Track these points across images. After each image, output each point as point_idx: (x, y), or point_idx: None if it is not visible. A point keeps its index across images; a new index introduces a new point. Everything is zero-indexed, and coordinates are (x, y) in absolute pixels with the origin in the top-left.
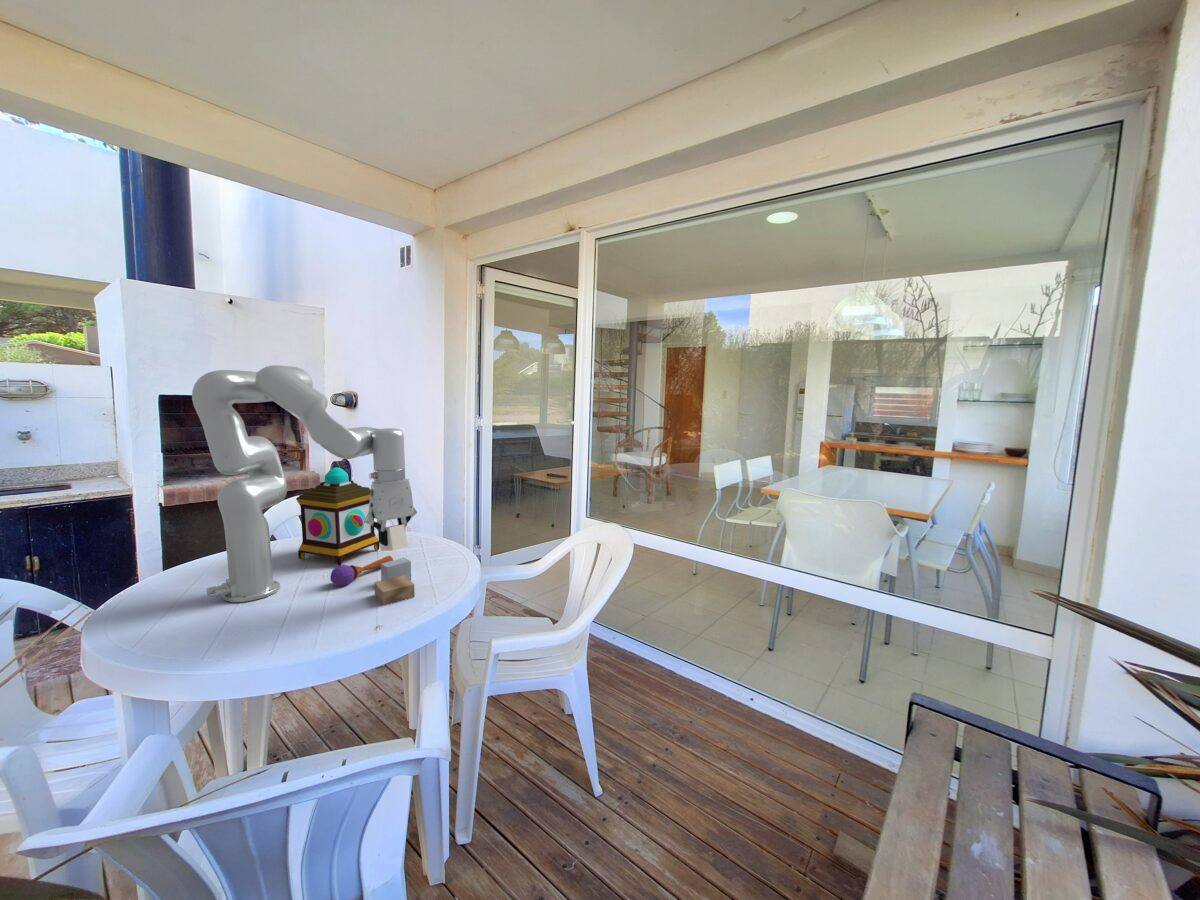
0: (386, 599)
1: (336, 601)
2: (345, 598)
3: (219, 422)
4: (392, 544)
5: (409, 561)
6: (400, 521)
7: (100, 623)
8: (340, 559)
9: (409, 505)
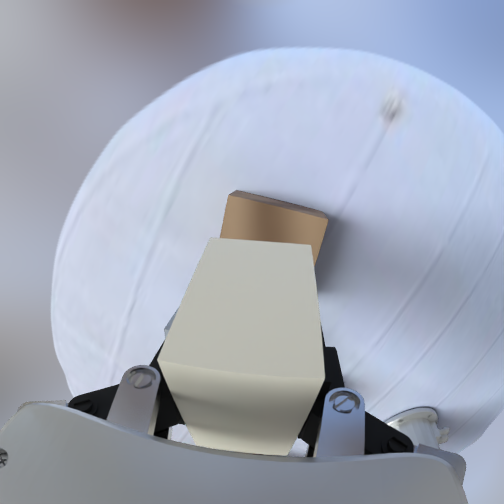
0: (315, 211)
1: (371, 322)
2: (351, 323)
3: None
4: (311, 267)
5: (168, 329)
6: (154, 429)
7: (491, 420)
8: (257, 454)
9: (1, 481)
